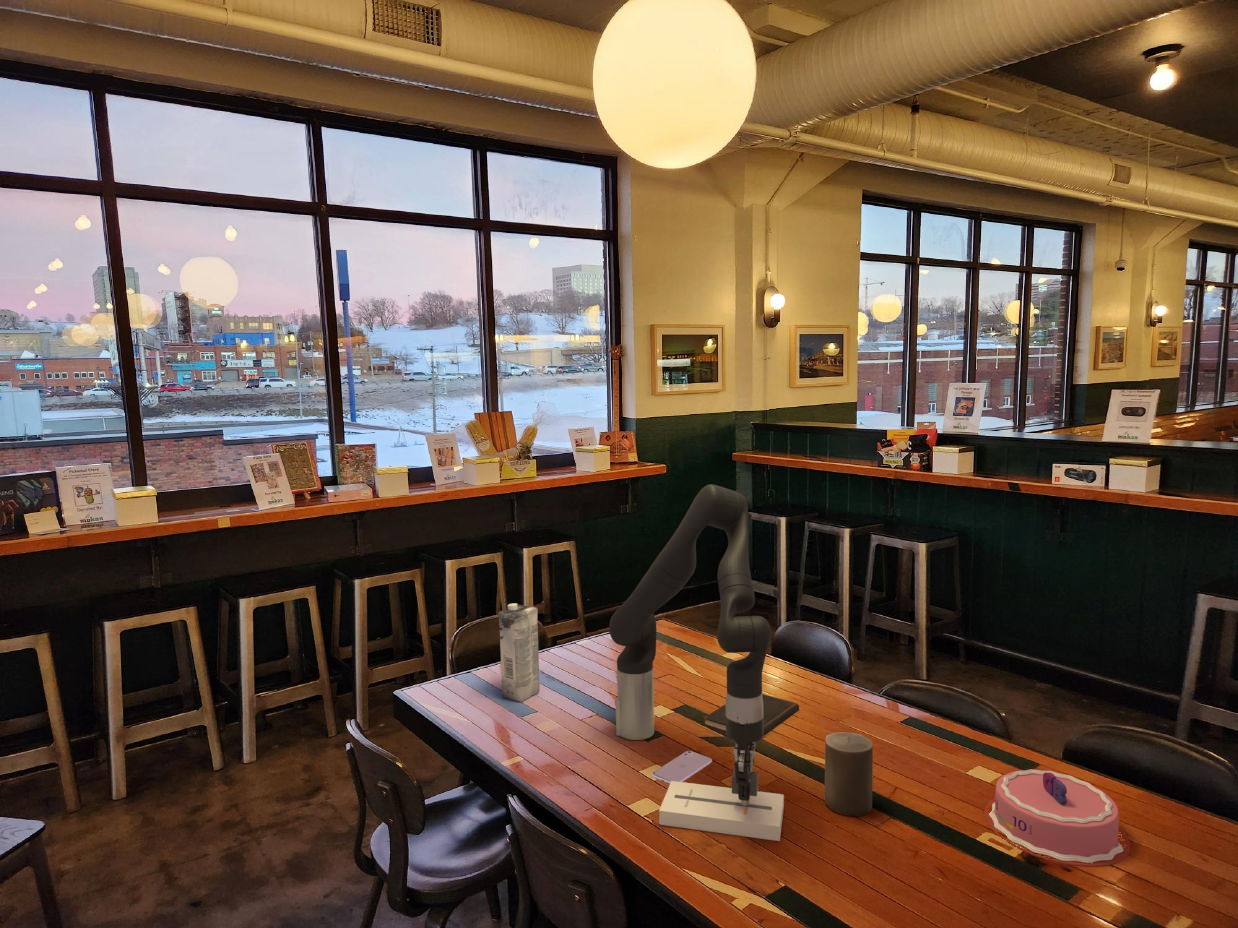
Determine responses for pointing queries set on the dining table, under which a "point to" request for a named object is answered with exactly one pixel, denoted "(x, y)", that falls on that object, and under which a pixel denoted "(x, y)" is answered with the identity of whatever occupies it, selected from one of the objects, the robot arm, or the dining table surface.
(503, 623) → the juice carton
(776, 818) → the dimmer panel
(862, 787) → the pillar candle
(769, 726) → the hardcover book
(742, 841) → the dining table surface
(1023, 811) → the cake
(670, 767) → the mobile phone
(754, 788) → the fader
